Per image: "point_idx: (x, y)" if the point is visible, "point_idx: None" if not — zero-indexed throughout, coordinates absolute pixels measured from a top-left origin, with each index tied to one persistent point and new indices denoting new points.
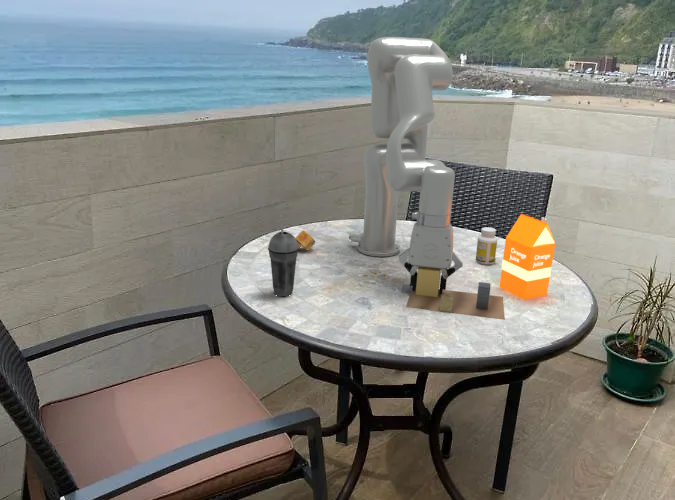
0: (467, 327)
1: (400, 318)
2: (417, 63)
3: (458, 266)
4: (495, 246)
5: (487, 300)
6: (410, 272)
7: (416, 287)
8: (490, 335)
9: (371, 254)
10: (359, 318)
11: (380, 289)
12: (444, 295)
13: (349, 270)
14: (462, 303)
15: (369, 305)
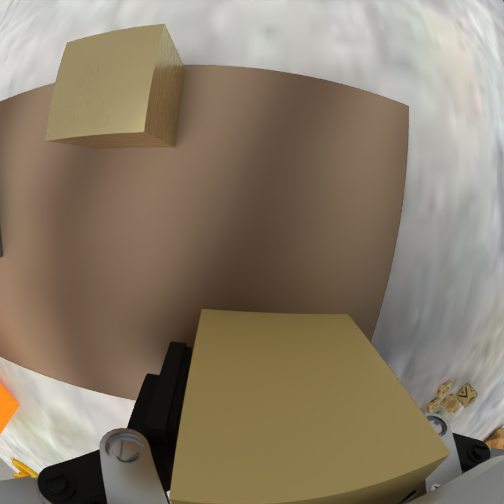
0: (72, 22)
1: (401, 44)
2: None
3: (9, 497)
4: None
5: None
6: (440, 425)
7: (367, 341)
8: (21, 16)
9: None
10: (501, 74)
11: (451, 348)
12: (118, 114)
13: (467, 419)
14: (48, 240)
15: (501, 181)
